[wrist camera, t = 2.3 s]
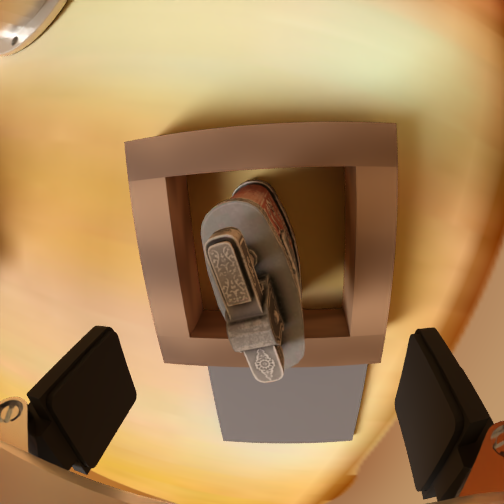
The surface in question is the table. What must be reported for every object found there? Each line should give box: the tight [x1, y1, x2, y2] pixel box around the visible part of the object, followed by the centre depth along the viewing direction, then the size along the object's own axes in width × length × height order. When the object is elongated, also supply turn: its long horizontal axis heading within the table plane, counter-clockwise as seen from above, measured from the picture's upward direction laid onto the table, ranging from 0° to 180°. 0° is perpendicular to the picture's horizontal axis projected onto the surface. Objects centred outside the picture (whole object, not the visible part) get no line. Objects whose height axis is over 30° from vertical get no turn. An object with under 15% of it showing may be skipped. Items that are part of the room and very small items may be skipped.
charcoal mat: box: [208, 364, 368, 443], centre depth 24 cm, size 10×12×1 cm
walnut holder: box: [124, 122, 398, 368], centre depth 18 cm, size 14×14×4 cm
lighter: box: [201, 179, 305, 383], centre depth 15 cm, size 8×3×10 cm, turn 18°
